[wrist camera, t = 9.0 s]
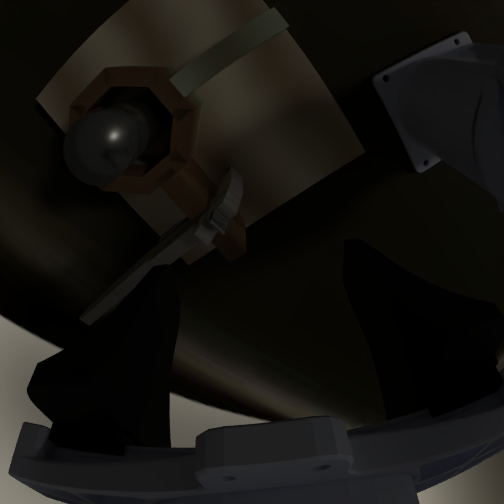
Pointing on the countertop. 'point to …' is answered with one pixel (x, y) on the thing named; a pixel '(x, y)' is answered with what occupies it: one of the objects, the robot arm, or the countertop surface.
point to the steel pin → (113, 138)
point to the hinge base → (208, 109)
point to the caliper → (175, 243)
